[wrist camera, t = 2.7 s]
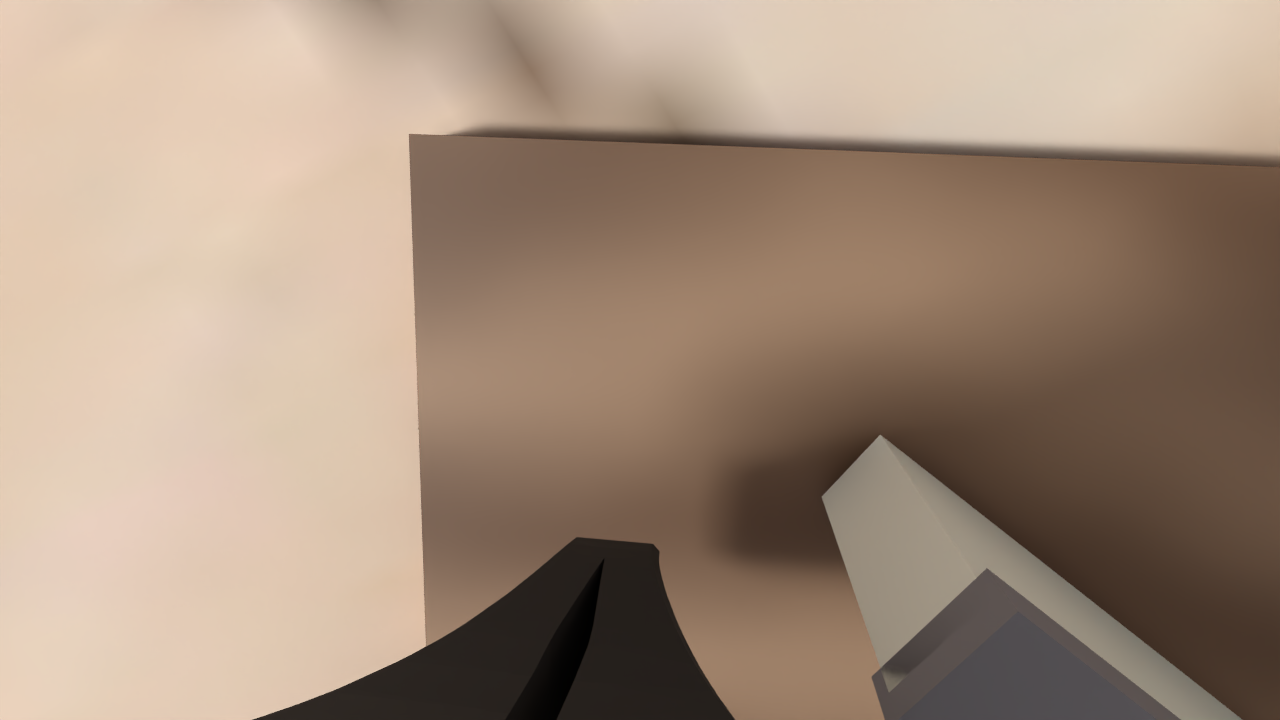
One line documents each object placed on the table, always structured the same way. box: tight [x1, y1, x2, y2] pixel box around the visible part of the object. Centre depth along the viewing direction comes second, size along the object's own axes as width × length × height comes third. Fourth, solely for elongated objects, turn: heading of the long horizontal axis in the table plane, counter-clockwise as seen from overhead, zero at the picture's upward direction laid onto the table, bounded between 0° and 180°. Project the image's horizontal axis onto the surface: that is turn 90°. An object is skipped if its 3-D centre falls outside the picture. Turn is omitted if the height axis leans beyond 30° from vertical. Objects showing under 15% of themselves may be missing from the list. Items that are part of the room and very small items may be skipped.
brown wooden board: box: [409, 134, 1280, 720], centre depth 10 cm, size 15×22×8 cm
